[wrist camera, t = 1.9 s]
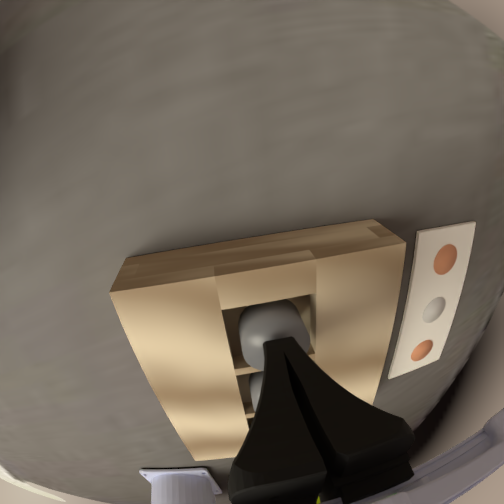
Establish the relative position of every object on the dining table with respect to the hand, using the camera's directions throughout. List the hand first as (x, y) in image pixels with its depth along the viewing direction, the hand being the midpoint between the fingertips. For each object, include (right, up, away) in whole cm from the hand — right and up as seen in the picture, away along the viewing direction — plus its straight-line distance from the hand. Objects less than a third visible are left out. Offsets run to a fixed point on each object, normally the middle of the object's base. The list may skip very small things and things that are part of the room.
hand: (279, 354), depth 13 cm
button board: (0, -2, +6) cm, 7 cm away
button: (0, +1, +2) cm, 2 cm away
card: (+13, 0, +7) cm, 15 cm away
